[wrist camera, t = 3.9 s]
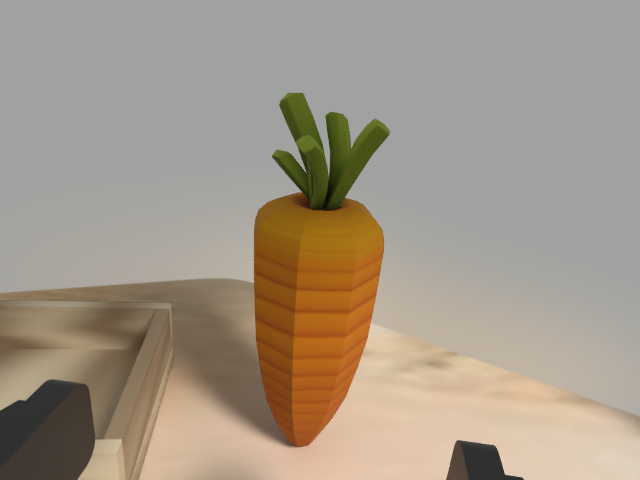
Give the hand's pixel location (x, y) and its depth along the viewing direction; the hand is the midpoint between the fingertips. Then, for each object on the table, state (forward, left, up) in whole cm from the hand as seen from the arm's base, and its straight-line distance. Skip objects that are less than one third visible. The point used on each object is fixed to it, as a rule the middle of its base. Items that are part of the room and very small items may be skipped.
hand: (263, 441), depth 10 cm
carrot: (-6, -6, -9) cm, 12 cm away
